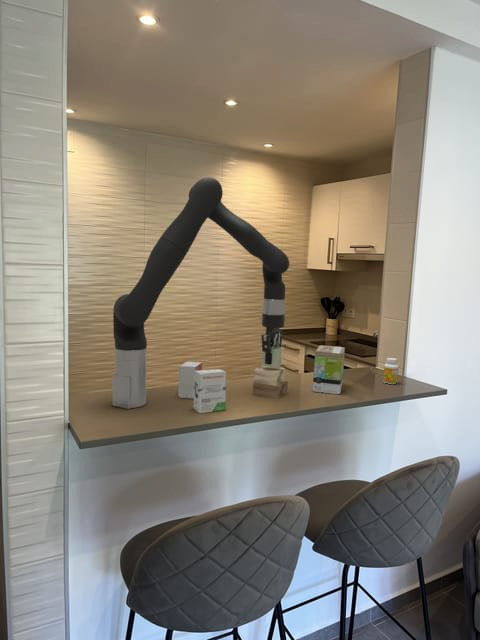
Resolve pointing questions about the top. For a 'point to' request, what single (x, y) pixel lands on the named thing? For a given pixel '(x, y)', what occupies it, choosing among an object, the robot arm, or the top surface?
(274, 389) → the walnut block
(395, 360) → the supplement bottle
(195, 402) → the ink box
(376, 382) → the top surface
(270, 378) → the maple block
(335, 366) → the tea box
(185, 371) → the small box
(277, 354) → the sage block
